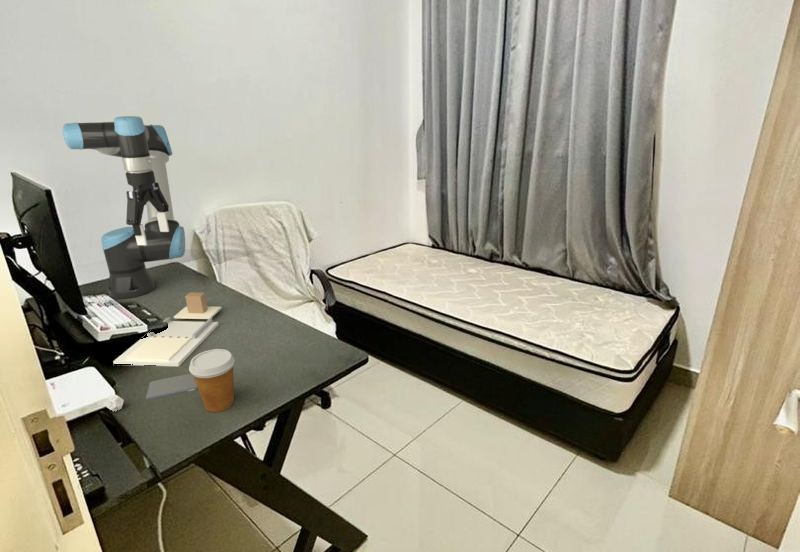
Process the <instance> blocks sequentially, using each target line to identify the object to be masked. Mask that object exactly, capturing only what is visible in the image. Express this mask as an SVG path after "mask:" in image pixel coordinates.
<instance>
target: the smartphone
mask: <svg viewBox="0 0 800 552" xmlns="http://www.w3.org/2000/svg"><path fill="white" fill-rule="evenodd" d="M191 391H192V392H193V391H198V387H197V385H196V382H195V379H194V377H193V375H192V373H191V372H190V373H186V374H182V375H176V376H172V377H167V378H161V379H157V380H156V379H155V380H152V381H150V382H149V383H148V387H147V391H146V395H145V400H151V399H157V398H162V397H167V396H173V395H178V394H182V393H187V392H191Z"/></svg>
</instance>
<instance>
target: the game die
mask: <svg viewBox="0 0 800 552" xmlns="http://www.w3.org/2000/svg"><path fill="white" fill-rule="evenodd" d="M124 401H125V400H124V399H123V398H122V397H120V396H119V395H118V394H115V395H112V396H109V397H108V400H107V402H106V406H105V408H107V409H109V410H110V411H111V410H112V412H114V411H115V412H118V411H119V410H120V409H121V410H122V408H123V405H124V403H125V402H124ZM117 410H118V411H117ZM115 412H114V413H115Z"/></svg>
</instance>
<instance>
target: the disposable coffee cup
mask: <svg viewBox="0 0 800 552" xmlns="http://www.w3.org/2000/svg"><path fill="white" fill-rule="evenodd" d="M189 362H190V363H189V366H188V371H189V372H190V373H192V375H193V377H194V379H195V382H196V385H197V387H198V389H197V391H198V392H199V395H200V397H201V400H202V403H203V406H204V408H205V410H206V411H208V412H210V413H219V412H222V411H225V410H227V409H230V408H231V406H232V405H234V402H235V391H234V390H235V389H234V388H235V387H234V386H235V385H234V384H235V383H234V365H235V362H236V361H235V357H234V356H233V355H232V353H231V352H230V351H229V350H227V349H222V348H214V349H213V348H212V349H208V350H205V351H202V352H200V353H198V354H196V355H195V356H193V357H192V358H191V360H190V361H189Z"/></svg>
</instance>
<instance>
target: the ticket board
mask: <svg viewBox="0 0 800 552" xmlns="http://www.w3.org/2000/svg"><path fill="white" fill-rule="evenodd" d="M162 321H163V322H167V323H168V328H167V329H166V330H164V331H162V332H160V333H157V334H155V333H154V332H150V331H149V332H150V333H149V332H147V333H146V334H147V336H148V337H146V338H143V337H142V338H143V339H141V338H140V339H139V340H137V341H136V342H135V343H134V344H132V345H131V346H130V347H129V348H127V349H126V350H125V351H124V352H123V353H122V354H121V355H119V356H118V357H117V358H115V359H114V360H113V361H112V362H113V365H114V364H131V365H130V366H144V365H156V366H155V367H181V364H182V363H184V362H185V360H186V359H187V358H188V357H190V355H191V354H193V352H194V351H195V350H196V349H197V348H198V347H199V346H200V345H201V344H202V343H203V342H204V341H206V339H207V338H208V337H209V336H210V335H211V333H213V331H214V330H216V328H217V327H218V326H219V325H220V324H219V321H213V317H212V318H209V319H206V321H182V320H181V321H180V320H176V321H175V320H171V317H166V318H165V319H164V320H162ZM132 364H133V365H132Z"/></svg>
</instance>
